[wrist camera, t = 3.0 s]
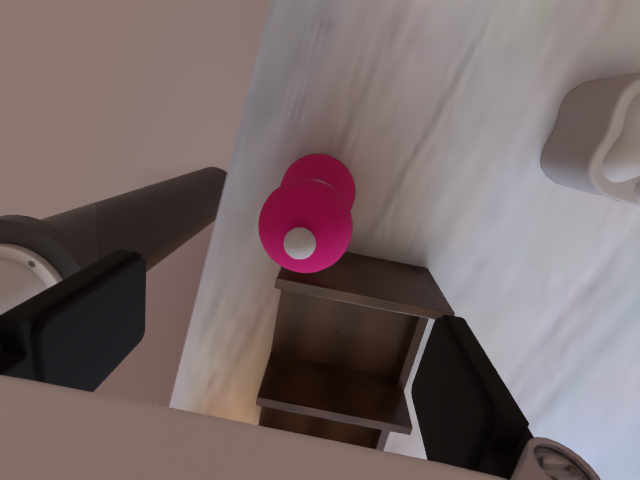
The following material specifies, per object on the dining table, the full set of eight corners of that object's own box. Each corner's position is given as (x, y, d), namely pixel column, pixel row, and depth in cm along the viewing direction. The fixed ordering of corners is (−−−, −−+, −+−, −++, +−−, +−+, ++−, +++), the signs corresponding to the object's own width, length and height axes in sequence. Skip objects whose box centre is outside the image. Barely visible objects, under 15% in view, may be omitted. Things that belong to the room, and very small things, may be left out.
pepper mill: (366, 172, 36) (394, 224, 17) (332, 228, 38) (324, 330, 19) (306, 137, 35) (266, 152, 16) (276, 197, 37) (209, 271, 18)
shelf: (260, 422, 48) (241, 495, 39) (292, 241, 39) (276, 278, 29) (370, 444, 48) (377, 521, 39) (427, 268, 39) (455, 313, 30)
